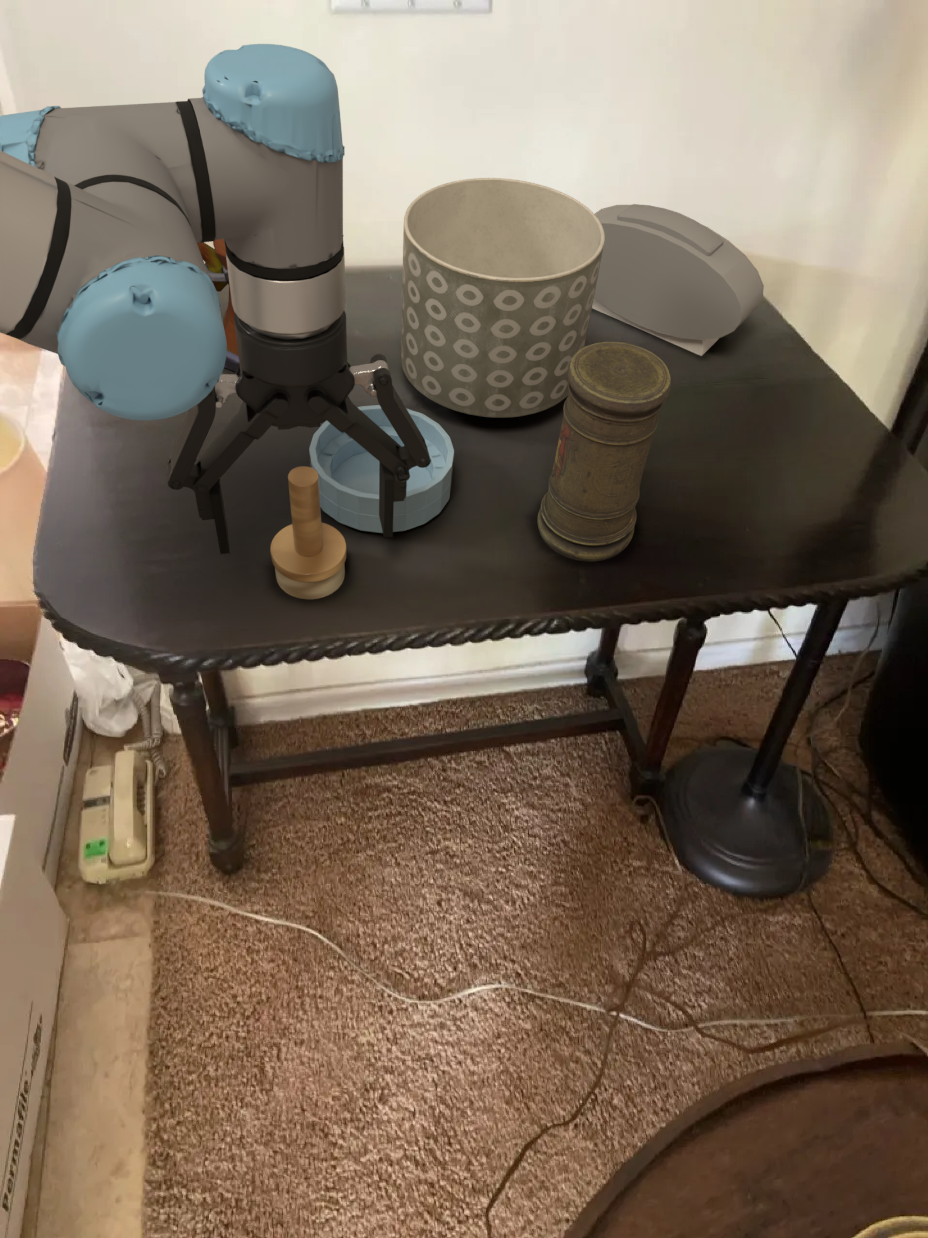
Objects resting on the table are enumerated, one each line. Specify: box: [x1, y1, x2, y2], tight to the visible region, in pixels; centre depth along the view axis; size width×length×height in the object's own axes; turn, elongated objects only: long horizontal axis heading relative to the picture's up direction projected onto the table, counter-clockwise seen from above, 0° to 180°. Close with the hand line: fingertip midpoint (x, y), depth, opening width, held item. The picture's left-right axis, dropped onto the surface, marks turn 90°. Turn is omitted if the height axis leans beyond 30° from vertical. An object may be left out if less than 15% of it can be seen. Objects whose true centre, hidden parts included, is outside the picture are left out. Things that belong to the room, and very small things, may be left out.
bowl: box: [308, 404, 455, 534], centre depth 91 cm, size 13×13×5 cm
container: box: [536, 341, 672, 563], centre depth 85 cm, size 9×9×18 cm
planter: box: [400, 177, 605, 419], centre depth 98 cm, size 19×19×18 cm
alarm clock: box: [592, 203, 765, 357], centre depth 110 cm, size 23×6×13 cm, turn 54°
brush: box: [270, 465, 347, 600], centre depth 81 cm, size 6×6×12 cm
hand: (306, 534), depth 81 cm, fingers open, 13 cm apart
